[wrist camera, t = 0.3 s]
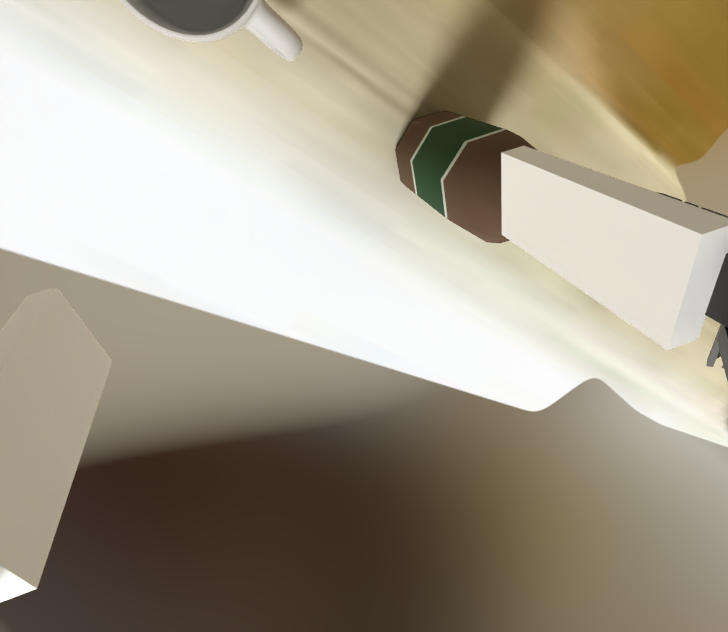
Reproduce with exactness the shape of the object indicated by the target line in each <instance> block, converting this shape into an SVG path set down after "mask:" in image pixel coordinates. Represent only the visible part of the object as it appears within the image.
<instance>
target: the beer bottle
mask: <svg viewBox="0 0 728 632" xmlns="http://www.w3.org/2000/svg"><path fill="white" fill-rule="evenodd" d="M521 146H527V147H529V148H532V149H535V148H534V147H533V146H532V145H530V144H529V143H528V142H527V141H525V140H524V139H523V138H522V137H520V136H518V135H516V134H514V133H512V132H510V131H508V130H506V129H503V128H500V127H497V126H493V125H490V124H487V123H484V122H481V121H477V120H474V119H471V118H468V117H465V116H462V115H458V114H455V113H452V112H447V111H440V112H437V113H434V114H430V115H427V116H424V117H421V118H418V119H415V120H412V122H411V124H410V125H409V127H408V129H407V131H406V132H405V134H404V136H403V138H402V139H401V141H400V143H399V145H398V146H397V148H396V150H395V151H396V157H397V163H398V168H399V174H400V180H401V182H402V183H403V184H404V185H405V186H406V187H408V188H409V189H410V190H411V191H413V192H414V193H415V194H416V195H418V196H419V197H420V198H421V199H423V200H424V201H425V202H427V203H428V204H429V205H430V206H432V207H433V208H434V209H435V210H437V211H438V212H439V213H440V214H442V215H443V216H444V217H446V218H447V219H448V220H450V221H452V222H453V223H455V224H457V225H458V226H460V227H462V228H464V229H465V230H467V231H469V232H470V233H472V234H474V235H475V236H477V237H479V238H481V239H482V240H484V241H486V242H491V243H503V242H506V241H509V239H507V238H506V237H504V236H503V235H502V199H501V152H505V151H508V150H511V149H514V148H518V147H521ZM535 150H537V149H535Z"/></svg>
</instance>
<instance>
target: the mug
mask: <svg viewBox="0 0 728 632" xmlns="http://www.w3.org/2000/svg"><path fill="white" fill-rule="evenodd" d="M120 2H121V3H122V4H123V5H124V6H125V7H126V8H127V9H128V10H129V11H130V12H132V13H133V14H134V15H135V16H136V17H137V18H138V19H140V20H141V21H143V22H144V23H146V24H147V25H148V26H150V27H152V28H153V29H155V30H157V31H159V32H161V33H163V34H165V35H168V36H170V37H173V38H176V39H180V40H184V41H192V42H214V41H218V40H221V39H224V38H226V37H228V36H230V35H232V34H233V33H235V32H237V31H239V30H240V29H242V28H246V29H247V30H249V31H250V32H251V33H253V34H254V35H255V36H256V37H257V38H258V39H260V40H261V41H262V42H263V43H264V44H265V45H267V46H268V47H269V48H270V49H271V50H272V51H274V52H275V53H276V54H278V55H279V56H280V57H282V58H283V59H285V60H287V61H293V60H295V59H296V58H297V57H298V56H299V54H300V52H301V50H302V46H303V45H302V40H301V38H300V37H299V36H298V34H297V33H296V32H295V31H294V30H293V29H292V28H291V27H290V26H289V25H288V24H287V23H286V22H285V21H284V20H283V19H282V18H281V17H280V16H279V15H278V14H277V13H276V12H275V11H274V10H273V9H272V8H271V7H270V6H269V5H268V4H267V3H266V2H265V0H120Z"/></svg>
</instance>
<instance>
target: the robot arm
mask: <svg viewBox="0 0 728 632" xmlns="http://www.w3.org/2000/svg"><path fill="white" fill-rule="evenodd" d="M501 199H502V235H503V236H504V237H506V238H507V239H509V240H510V241H512V242H513V243H514V244H516V245H517V246H519V247H520V248H522V249H523V250H524V251H526V252H527V253H529V254H530V255H532V256H533V257H534V258H536V259H537V260H539V261H540V262H542V263H543V264H544V265H546V266H547V267H549V268H550V269H552V270H553V271H554V272H556V273H557V274H559V275H560V276H562V277H563V278H564V279H566V280H567V281H569V282H570V283H572V284H573V285H574V286H576V287H577V288H579V289H580V290H582V291H583V292H584V293H586V294H587V295H589V296H590V297H592V298H593V299H594V300H596V301H597V302H599V303H600V304H602V305H603V306H604V307H606V308H607V309H609V310H610V311H612V312H613V313H614V314H616V315H617V316H619V317H620V318H622V319H623V320H625V321H626V322H627V323H629V324H630V325H632V326H633V327H635V328H636V329H637V330H639V331H640V332H642V333H643V334H645V335H646V336H647V337H649V338H650V339H652V340H653V341H655V342H656V343H657V344H659V345H660V346H662V347H663V348H665V349H666V350H670V349H673V348H675V347H678V346H681V345H683V344H686V343H688V342H691V341H694V340H696V339H698V337H699V334H700V331H701V329H702V326H703V323H704V320H705V317H706V316H708V317H710V318H712V319H713V320H715V321H717V322H719V323H720V324H721V325H720V328H719V330H718V333H717V336H716V338H715V341H714V344H713V346H712V349H711V351H710V354H709V357H708V359H707V366H710V367H713V365H714V363H715V360H716V359H717V358H719V357H720V356H721V358H722V361H723V366H722V368H724V369H725V373H726V377H727V380H728V216H725V215H722V214H720V213H717V212H714V211H711V210H708V209H705V208H698V206H697V205H694V204H691V203H688V202H682V200H680V199H677V198H674V197H671V196H668V195H666V194H663V193H657V192H653V191H650V190H648V189H645V188H642V187H639V186H636V185H634V184H631V183H628V182H625V181H622V180H619V179H617V178H614V177H611V176H608V175H605V174H603V173H600V172H597V171H594V170H591V169H588V168H586V167H583V166H580V165H577V164H574V163H572V162H569V161H566V160H563V159H560V158H557V157H555V156H552V155H549V154H546V153H543V152H541V151H538V150H535V149H532V148H529V147H527V146H521V147H518V148H514V149H511V150H508V151H505V152H501ZM111 364H112V360H111V359H110V358H109V356H108V355H107V354H106V352H105V351H104V350H103V348H102V347H101V346H100V344H99V343H98V341H97V340H96V339H95V338H94V336H93V335H92V334H91V332H90V331H89V329H88V328H87V327H86V325H85V324H84V323H83V321H82V320H81V319H80V317H79V316H78V315H77V313H76V312H75V311H74V309H73V308H72V307H71V305H70V304H69V303H68V301H67V300H66V299H65V297H64V296H63V295H62V294H61V292H60V291H59V289H58V288H57V287H53V288H50V289H47V290H43V291H40V292H36V293H33V294H30V295H27V296H26V297H25V299H24V300H23V301H22V303H21V304H20V305H19V307H18V308H17V309H16V311H15V312H14V313H13V315H12V316H11V317H10V319H9V320H8V321H7V323H6V324H5V325H4V327H3V328H2V329H1V331H0V602H3V601H5V600H8V599H11V598H13V597H16V596H19V595H21V594H24V593H27V592H29V591H32V590H35V589H37V586H38V583H39V581H40V577H41V575H42V572H43V569H44V566H45V563H46V560H47V557H48V554H49V550H50V548H51V545H52V542H53V539H54V535H55V532H56V529H57V526H58V523H59V520H60V517H61V514H62V511H63V508H64V505H65V502H66V499H67V496H68V493H69V490H70V487H71V484H72V481H73V478H74V475H75V472H76V469H77V466H78V463H79V460H80V457H81V454H82V451H83V448H84V445H85V442H86V439H87V436H88V433H89V430H90V427H91V424H92V421H93V418H94V415H95V412H96V409H97V406H98V403H99V400H100V397H101V394H102V391H103V388H104V385H105V382H106V379H107V376H108V373H109V370H110V367H111Z"/></svg>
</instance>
